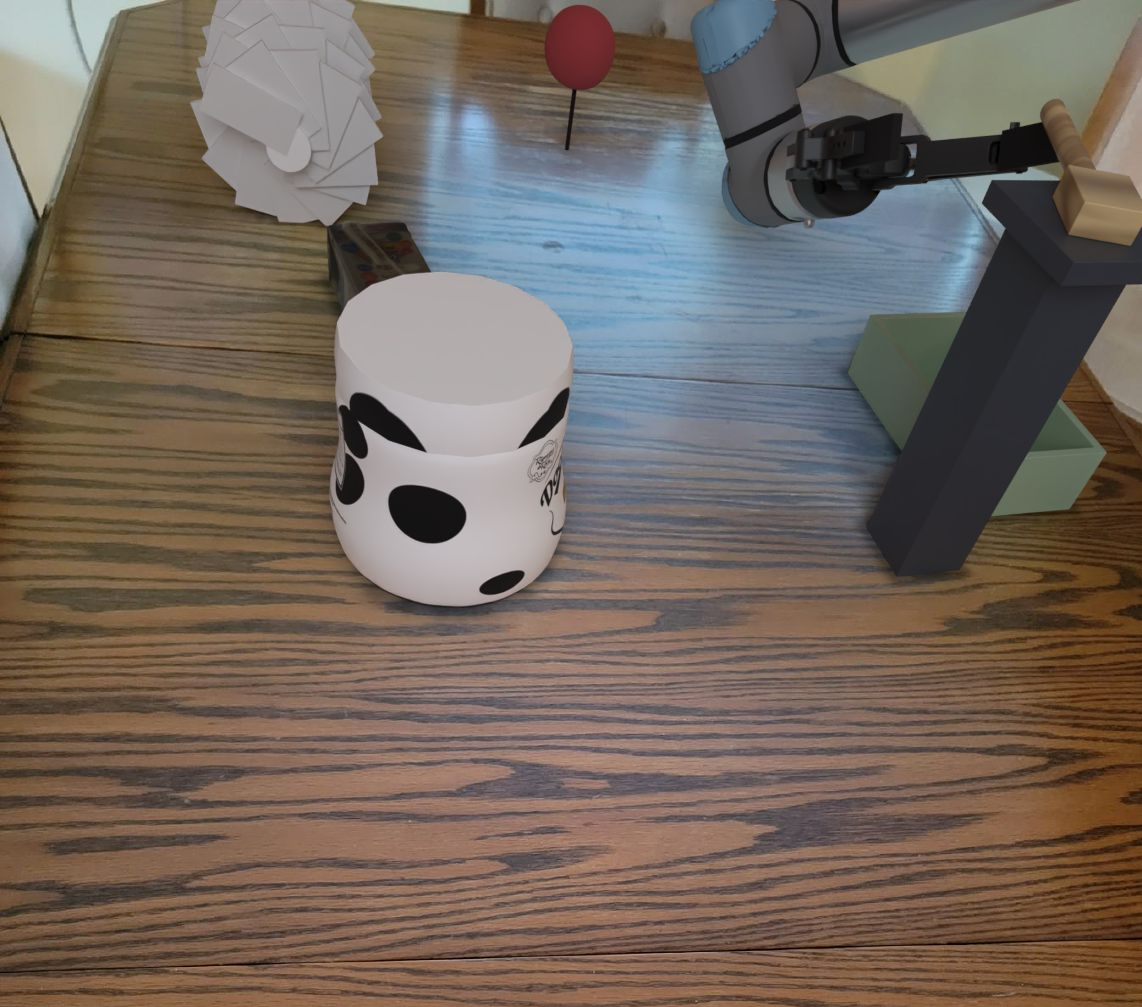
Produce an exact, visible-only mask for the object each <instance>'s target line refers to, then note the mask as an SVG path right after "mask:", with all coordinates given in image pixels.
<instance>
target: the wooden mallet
mask: <svg viewBox="0 0 1142 1007" xmlns="http://www.w3.org/2000/svg"><path fill="white" fill-rule="evenodd" d="M1039 117H1040V122H1042V123H1043V126H1044V128H1045V130H1046V132H1047V135H1048V137H1049V139H1050V141H1051V144H1052V146H1053V148H1054V150H1055V153H1056V155H1057V157H1058V159H1059V162H1058V163H1059V164H1060V166H1061V168H1062V171H1063V174H1062V176H1061V179H1060V180H1061V181H1060V183H1059V185H1058V187H1057V189H1056V191H1055V193H1054V195H1053V200H1054V202H1055V204H1056V207H1057V209H1058V212H1059V214H1060V217H1061V219H1062V221H1063V224H1064V226H1065V229H1066V231H1067V233H1068V235H1071V236H1077V237H1083V238H1088V239H1094V240H1099V241H1105V242H1110V243H1116V244H1122V245H1127V246H1131V245H1132V243H1133V241H1134V239H1135V238H1136V236H1137V234H1138V232H1139V231H1140V229H1141V227H1142V197H1141V196H1140V193H1139V191H1138V189H1137V188H1136V186H1135V184H1134V182H1133V180H1132V178H1131V176H1130V175H1126V174H1120V173H1116V172H1111V171H1106V170H1105V171H1104V170H1100V169H1097V168H1096V166H1095V164H1094V162H1093V160H1092V158H1091V156H1090V154H1089V151H1088V150H1087V147H1086V146H1085V143H1084V141H1083V140H1082V137H1081V136H1080V133H1079V131H1078V129H1077V127H1076V125H1075V123H1074V121H1073V119H1072V117H1071V114H1070V113H1069V111H1068V109H1067V107H1066V105H1065V103H1064V101H1063V100H1061V99H1060V98H1053V99H1049V100H1048V101H1047V102H1046V103H1045V104H1044V105H1043V106H1042V107H1041V110H1040V112H1039Z"/></svg>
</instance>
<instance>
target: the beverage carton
mask: <svg viewBox="0 0 1142 1007" xmlns="http://www.w3.org/2000/svg"><path fill="white" fill-rule="evenodd" d="M326 247H327V248H326V249H327V269H328V282H329V283H330V285H331V287H332V290H333V292H334V294H335V296H336V299H337V300H338V303H339V306H340V309H341V313H342V312H343V310H344V308H345V306H346V304H347V302H348V301H349V300H351V299H352V298H353V297H355V296H356V295H358V294H359V293H361V292H362V291H363V290H365V289H366V288H368V287H369V286H370V285H372V284H376V283H379V282H382V281H385V280H388V279H391V278H395V277H398V276H401V275H405V274H418V273H430V272H432V270H431V269H430V267H429V265H428V263H427V261H426V259H425V257H424V256H423V254H422V252H421V251H420V248H419V247H418V245H417V243H416V241H415V239H413V237H412V233H411V232H410V230H409V228H408V226H407V224H406V223H405V222H399V221H397V222H396V221H392V222H390V221H389V222H378V223H377V222H371V223H369V222H368V223H367V222H365V223H359V221H356V220H347V221H344V222H343V223H340V224H336V223H335V224H332V225H329V226H326Z"/></svg>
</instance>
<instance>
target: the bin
mask: <svg viewBox="0 0 1142 1007" xmlns="http://www.w3.org/2000/svg"><path fill="white" fill-rule="evenodd" d="M966 312H967V311H950V312H949V311H948V312H947V311H945V312H915V313H914V312H913V313H879V314H877V313H876V314H869V317H868V319H867V322H866V324H865V327H864V330H863V333H862V334H861V338H860V339H859V343H858V346H857V348H856V351H855V352H854V356H853V357H852V361H851V363H850V366H849V369H848V372H847V375H848V376H849V377H850V379H851V380H852V381H853V383H854V384H855V386H856V387H857V389H858V390H859V391H860V394H861V395H862V396H863V397H864V399H865V401H866V402H867V403H868V405H869V406H870V408H871V410H872V411H873V412H874V413H875V415H876V417H877V418H878V419H879V421H880V423H881V424H882V425H883V427H884V428H885V430H886V431H887V432H888V434H889V436H890V437H891V439H892V440H893V441H894V442H895V444H896V446H897V447H898V448H899V450H900V451H901V452H902V450H903V448H904V446H905V443H906V441H907V439H908V437H909V435H910V433H911V430H912V428H913V426H914V424H915V422H916V420H917V418H918V415H919V413H920V411H921V409H922V407H923V405H924V402H925V400H926V398H927V396H928V394H929V392H930V390H931V387H932V385H933V383H934V381H935V379H936V377H937V375H938V372H939V370H940V368H941V366H942V364H943V362H944V359H945V357H946V355H947V353H948V351H949V349H950V347H951V344H952V342H953V340H954V338H955V336H956V334H957V331H958V329H959V327H960V325H961V323H962V321H963V319H964V316H965V314H966ZM1106 455H1107V451H1106V450H1105V449H1104V447H1103V446H1102V445H1101V444H1100V442H1098V440H1097V439H1096V438H1095V437H1094V436H1093V434H1092V433H1091V432H1090V431H1089V430H1088V428H1086V426H1085V425H1084V424H1083V423H1082V421H1080V419H1079V418H1078V417H1077V416H1076V414H1074V413H1073V411H1072V410H1071V409H1070V408H1069V407H1068V405H1067V404H1066V403H1065V402H1064V401H1063V400H1062V399H1061V398H1060V399H1059V401H1058V403H1057V404H1056V406H1055V408H1054V409H1053V411H1052V413H1051V415H1050V416H1049V418H1048V420H1047V421H1046V423H1045V425H1044V427H1043V428H1042V430H1041V432H1040V433H1039V435H1038V437H1037V439H1036V440H1035V442H1034V444H1033V445H1032V447H1031V449H1030V451H1029V452H1028V454H1027V456H1026V457H1025V459H1024V461H1023V463H1022V464H1021V466H1020V468H1019V469H1018V471H1017V473H1016V475H1015V476H1014V478H1013V480H1012V481H1011V483H1010V485H1009V487H1008V488H1007V490H1006V492H1005V493H1004V495H1003V497H1002V499H1001V500H1000V502H999V504H998V505H997V507H996V509H995V510H994V512H993V514H992V516H991V517H997V516H1009V515H1019V514H1020V515H1021V514H1029V513H1030V514H1031V513H1041V512H1052V511H1062V510H1063V511H1065V510H1070V509H1071V508H1072V507H1073V505H1074V503H1075V502H1076V500H1078V497H1079V495H1080V494H1081V493H1082V491H1083V489H1084V488H1085V486H1086V485H1087V484H1088V482H1089V481H1090V479H1091V478H1092V476H1093V474H1094V473H1095V472H1096V470H1097V468H1098V467H1099V465H1100V464H1101V462H1102V461H1103V459H1104V458H1105V457H1106Z"/></svg>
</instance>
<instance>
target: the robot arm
mask: <svg viewBox="0 0 1142 1007" xmlns="http://www.w3.org/2000/svg"><path fill="white" fill-rule="evenodd" d="M1079 1H1080V0H715V1H714V2H712V3H710V4H708V5H706V6H704V7H703V8H701V9H700V10H698V11H697V12H695V14H694V15H693V17H692V19H691V22H690V27H689V29H690V34H691V38H692V42H693V47H694V50H695V55H696V58H697V64H696V65H697V68H698V70H699V72H700V74H701V78H702V80H703V84H704V87H705V90H706V94H707V96H708V99H709V102H710V105H711V109H712V112H713V115H714V118H715V121H716V125H717V128H718V131H719V135H720V137H721V140H722V143H723V146H724V153H725V156H726V160H727V163H726V165H725V167H724V170H723V173H722V179H721V198H722V202H723V205H724V207H725V209H726V211H727V212H728V213H729V215H730V216H731V217H732V218H733V219H734V220H735V221H737V222H738V223H739V224H742V225H743V226H746V227H751V228H762V229H776V228H779V227H781V226H786V225H792V224H797V223H799V224H800V223H803V228H804V229H805V230H807V229H809V230H810V229H812V228H814V226H815V221H819V220H831V219H838V218H846V217H852V216H855V215H857V214H860V213H861V212H863V211H865V210H866V209H867V208H869V207H870V206H871V205H872V204H873V203H874V202H875V201H876V199H877V198H878V196H879V195H880V193H881V191H889V190H892V189H894V188H895V187H901V186H913V185H923V184H924V185H925V184H928V183H930V182H937V181H942V180H952V179H962V178H973V177H984V176H994V175H1005V174H1015V175H1022V174H1024V173H1027V172H1028V171H1029V168H1032V167H1039V166H1046V165H1051V164H1056V163H1057V164H1058V163H1060V162H1059V159H1058V157H1057V155H1056V153H1055V150H1054V148H1053V146H1052V144H1051V141H1050V139H1049V137H1048V135H1047V132H1046V130H1045V128H1044V126H1043V123H1042V121H1039V122H1035V123H1030V124H1025V125H1021V122H1020V121H1010V123H1009V128H1008V129H1003V130H1002V131H1001V134H990V135H979V136H971V137H970V136H969V137H958V138H947V139H935V140H932V139H931V137H930V136H928V135H926V134H912V135H902V129H903V121H904V120H903V117H904V112H892V113H889V114H884V115H881V116H878V117H873V118H871V119H867V118H865V117H863V116H859V115H853V114H851V115H850V114H849V115H844V116H840V117H836V118H833V119H830V120H827V121H822V122H817V123H815V124H811V125H807V126H806V123H805V120H804V115H803V113H802V112H803V110H802V106H801V102H800V99H799V95H798V90H797V89H798V88H800V87H802V86H803V85H805V84H807V83H809V82H810V81H812V80H815V79H817V78H819V77H823V76H826V75H829V74H832V73H836V72H839V71H843V70H846V69H849V68H852V67H855V66H857V65H861V64H864V63H867V62H871V61H873V60H877V59H882V58H884V57H888V56H892V55H895V54H899V53H901V52H905V51H908V50H912V49H915V48H918V47H922V46H926V45H930V44H933V43H937V42H940V41H944V40H946V39H950V38H954V37H957V36H961V35H964V34H967V33H971V32H974V31H978V30H981V29H986V28H989V27H992V26H995V25H999V24H1002V23H1005V22H1010V21H1013V20H1016V19H1017V20H1018V19H1020V18H1023V17H1027V16H1030V15H1033V14H1037V13H1040V12H1044V11H1048V10H1051V9H1055V8H1059V7H1061V6H1065V5H1068V4H1072V3H1075V2H1079ZM909 145H916V150H915V157H912V152H911V150H910V148H909ZM910 172H911V173H912V172H913V173H912V175H911V176H908V175H909V174H910Z"/></svg>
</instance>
